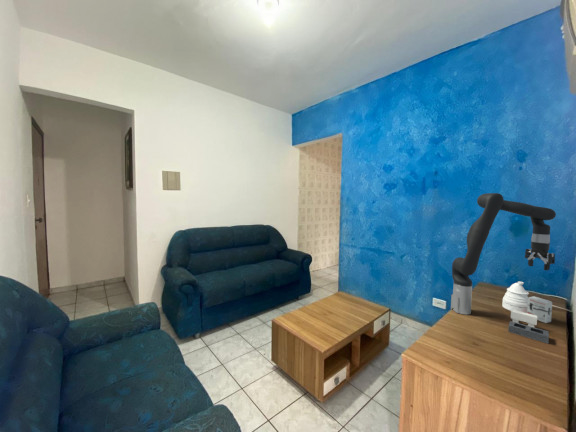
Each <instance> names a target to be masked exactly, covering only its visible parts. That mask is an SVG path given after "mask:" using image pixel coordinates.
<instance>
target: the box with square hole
mask: <svg viewBox="0 0 576 432" xmlns="http://www.w3.org/2000/svg"><path fill="white" fill-rule="evenodd" d="M507 332H508V333H511V334H515V335H518V336H522V337H524V338H527V339H531V340H534V341H538V342H540V341H541V343H544V344H549V339H550V334H549V333H550V331H549V330H544V329H541V328H537V327H535V326H534V327H531V326H528V324H523V323H520V322H519V323H516V322H513V320H512V321H511V320H509V324H508V330H507Z"/></svg>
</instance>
